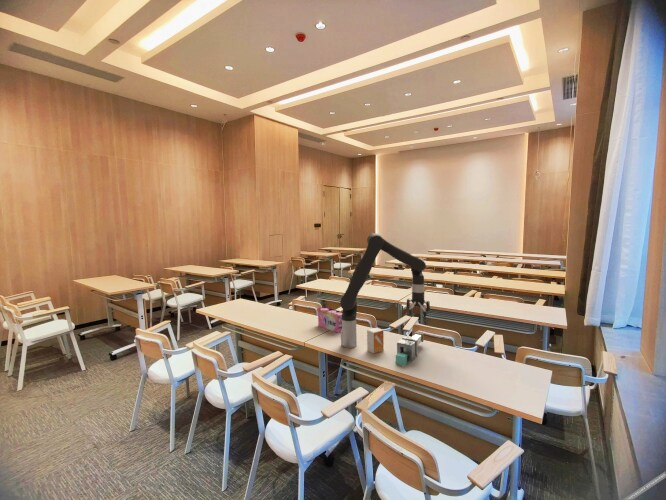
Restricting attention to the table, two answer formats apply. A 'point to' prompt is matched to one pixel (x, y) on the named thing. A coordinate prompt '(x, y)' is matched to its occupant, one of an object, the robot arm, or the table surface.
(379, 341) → the small box
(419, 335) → the shaft
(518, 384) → the table surface
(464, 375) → the table surface
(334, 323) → the gum box
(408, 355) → the bearing blocks
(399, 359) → the block
